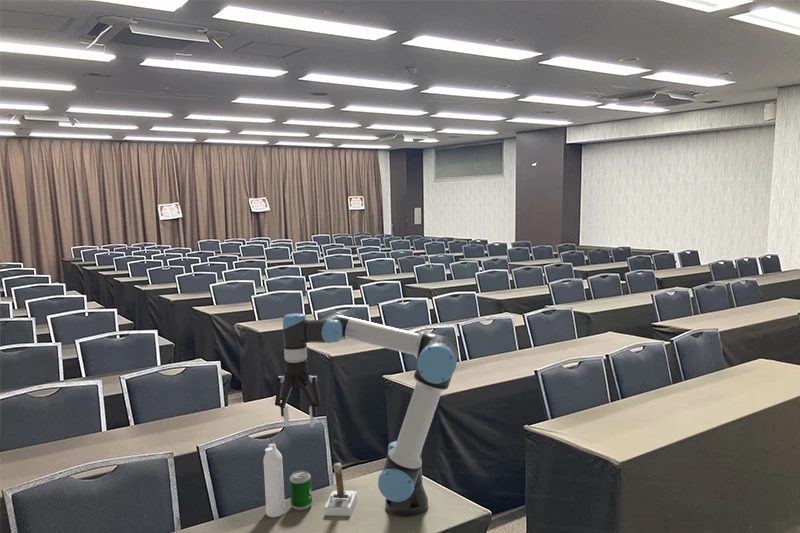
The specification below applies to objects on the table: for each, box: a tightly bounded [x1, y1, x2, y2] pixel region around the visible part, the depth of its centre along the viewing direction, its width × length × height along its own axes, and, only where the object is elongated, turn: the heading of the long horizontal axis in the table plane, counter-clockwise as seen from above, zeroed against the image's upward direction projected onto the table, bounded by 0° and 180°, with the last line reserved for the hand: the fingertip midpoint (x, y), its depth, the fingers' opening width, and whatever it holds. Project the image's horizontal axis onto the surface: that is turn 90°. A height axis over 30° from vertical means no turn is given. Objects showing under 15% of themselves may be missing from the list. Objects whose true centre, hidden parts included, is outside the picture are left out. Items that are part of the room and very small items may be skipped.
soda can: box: [289, 470, 313, 512], centre depth 204 cm, size 8×8×12 cm
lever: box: [333, 462, 348, 499], centre depth 201 cm, size 5×3×14 cm, turn 83°
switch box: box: [324, 489, 358, 517], centre depth 203 cm, size 9×12×5 cm
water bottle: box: [262, 442, 286, 518], centre depth 199 cm, size 9×6×25 cm
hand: (299, 425), depth 193 cm, fingers open, 8 cm apart
